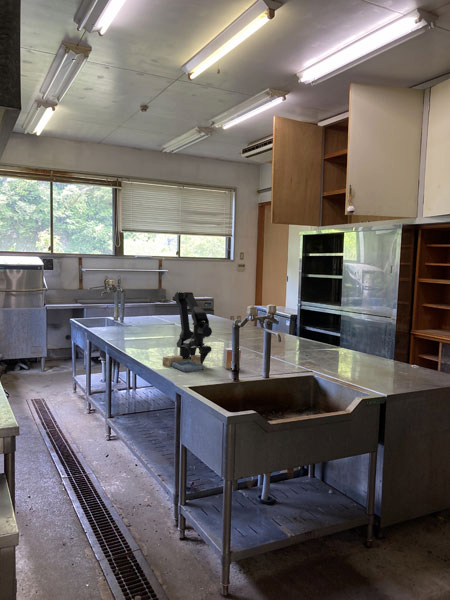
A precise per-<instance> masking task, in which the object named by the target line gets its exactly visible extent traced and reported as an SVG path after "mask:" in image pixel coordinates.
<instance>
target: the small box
mask: <svg viewBox="0 0 450 600" xmlns="http://www.w3.org/2000/svg"><path fill="white" fill-rule="evenodd" d="M232 348H233V347H224V349H223V350H224V352H223V364H222V365H223V368H225V369H226V370H228V369H231V361H232ZM241 355H242V349H240V348H239V367H240V368H241V358H242V357H241ZM231 370H232V369H231Z"/></svg>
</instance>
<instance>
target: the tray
mask: <svg viewBox="0 0 450 600" xmlns="http://www.w3.org/2000/svg"><path fill="white" fill-rule="evenodd" d="M170 367H172V368H174V369H176V370H179V371H181V372H184V373H187V372H197V371H204V365H203V364H197V363H195V362H192V361H191V360H183V361H180V362H171V366H170Z"/></svg>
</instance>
